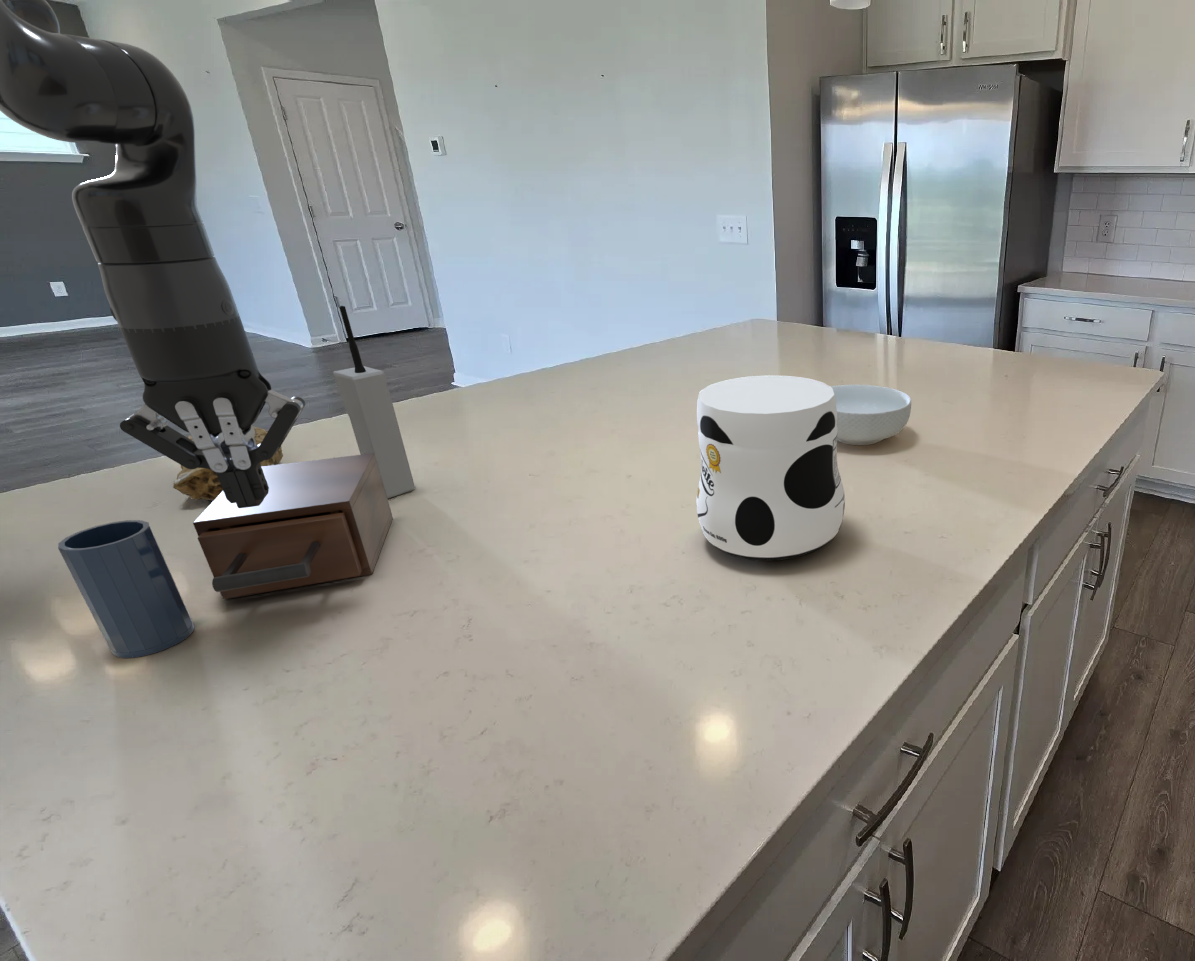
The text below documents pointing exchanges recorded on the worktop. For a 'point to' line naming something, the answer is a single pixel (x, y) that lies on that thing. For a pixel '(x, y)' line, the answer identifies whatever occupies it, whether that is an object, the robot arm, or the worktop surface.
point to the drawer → (280, 553)
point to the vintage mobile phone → (374, 418)
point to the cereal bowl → (869, 413)
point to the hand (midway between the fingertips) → (251, 503)
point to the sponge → (213, 475)
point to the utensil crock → (127, 587)
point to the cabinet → (317, 501)
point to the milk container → (769, 466)
